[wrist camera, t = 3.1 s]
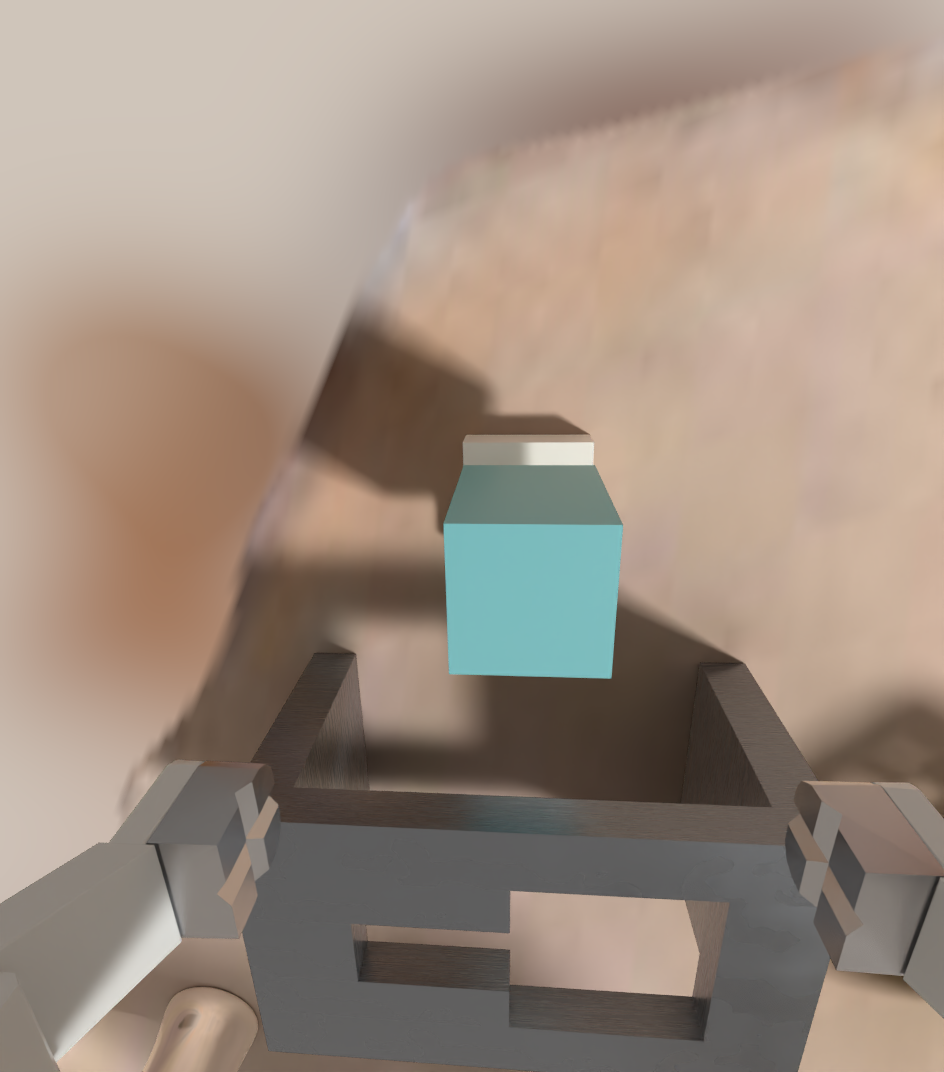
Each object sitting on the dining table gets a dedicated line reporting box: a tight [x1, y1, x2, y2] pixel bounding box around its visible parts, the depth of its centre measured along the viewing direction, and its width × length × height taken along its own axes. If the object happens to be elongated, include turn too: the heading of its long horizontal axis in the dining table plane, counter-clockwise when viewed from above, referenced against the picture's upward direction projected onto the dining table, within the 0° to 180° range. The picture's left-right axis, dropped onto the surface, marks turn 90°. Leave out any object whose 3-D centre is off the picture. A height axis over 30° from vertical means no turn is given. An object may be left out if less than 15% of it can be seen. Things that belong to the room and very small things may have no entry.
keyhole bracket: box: [242, 653, 830, 1072], centre depth 26 cm, size 20×12×10 cm, turn 91°
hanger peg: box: [444, 434, 623, 678], centre depth 21 cm, size 5×5×10 cm
